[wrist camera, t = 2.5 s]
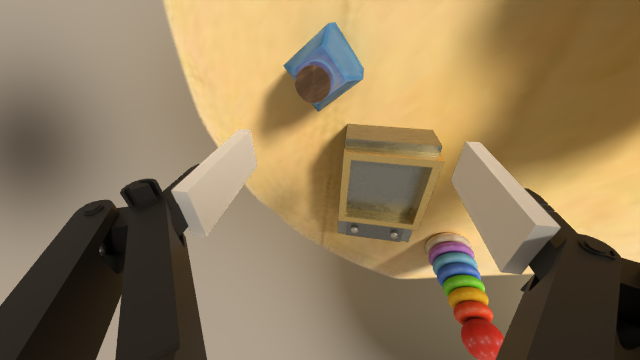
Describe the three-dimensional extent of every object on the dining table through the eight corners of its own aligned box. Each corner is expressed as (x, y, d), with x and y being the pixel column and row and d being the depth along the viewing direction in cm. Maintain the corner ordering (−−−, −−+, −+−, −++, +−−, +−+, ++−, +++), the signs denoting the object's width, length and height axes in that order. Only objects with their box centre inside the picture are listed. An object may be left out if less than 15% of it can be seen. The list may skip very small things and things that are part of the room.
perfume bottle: (335, 22, 27) (318, 25, 17) (363, 68, 29) (362, 93, 20) (297, 57, 30) (264, 76, 20) (325, 97, 32) (308, 131, 23)
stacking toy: (427, 259, 48) (456, 370, 33) (420, 234, 44) (449, 346, 29) (470, 255, 45) (523, 374, 30) (467, 227, 41) (525, 347, 26)
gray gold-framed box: (347, 123, 34) (344, 145, 28) (432, 130, 32) (447, 153, 27) (340, 212, 44) (336, 241, 39) (404, 220, 43) (409, 251, 37)
